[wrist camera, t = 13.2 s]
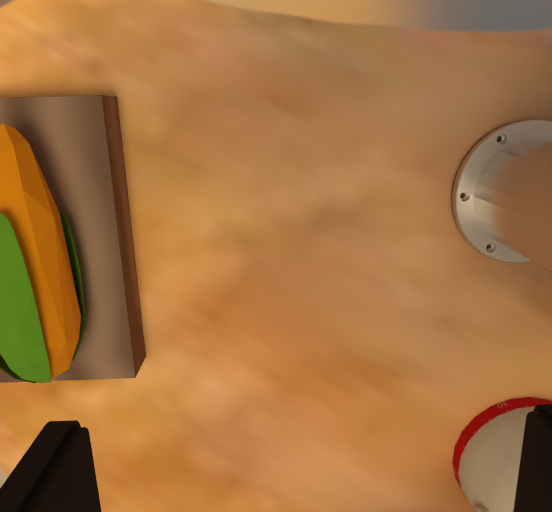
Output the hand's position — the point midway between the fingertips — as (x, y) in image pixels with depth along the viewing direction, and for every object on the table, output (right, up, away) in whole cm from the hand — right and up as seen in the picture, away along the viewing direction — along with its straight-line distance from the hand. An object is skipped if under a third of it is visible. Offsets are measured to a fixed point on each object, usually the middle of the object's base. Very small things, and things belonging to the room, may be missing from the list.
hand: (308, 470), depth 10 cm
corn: (-20, +5, +30) cm, 36 cm away
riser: (-20, +6, +33) cm, 39 cm away
